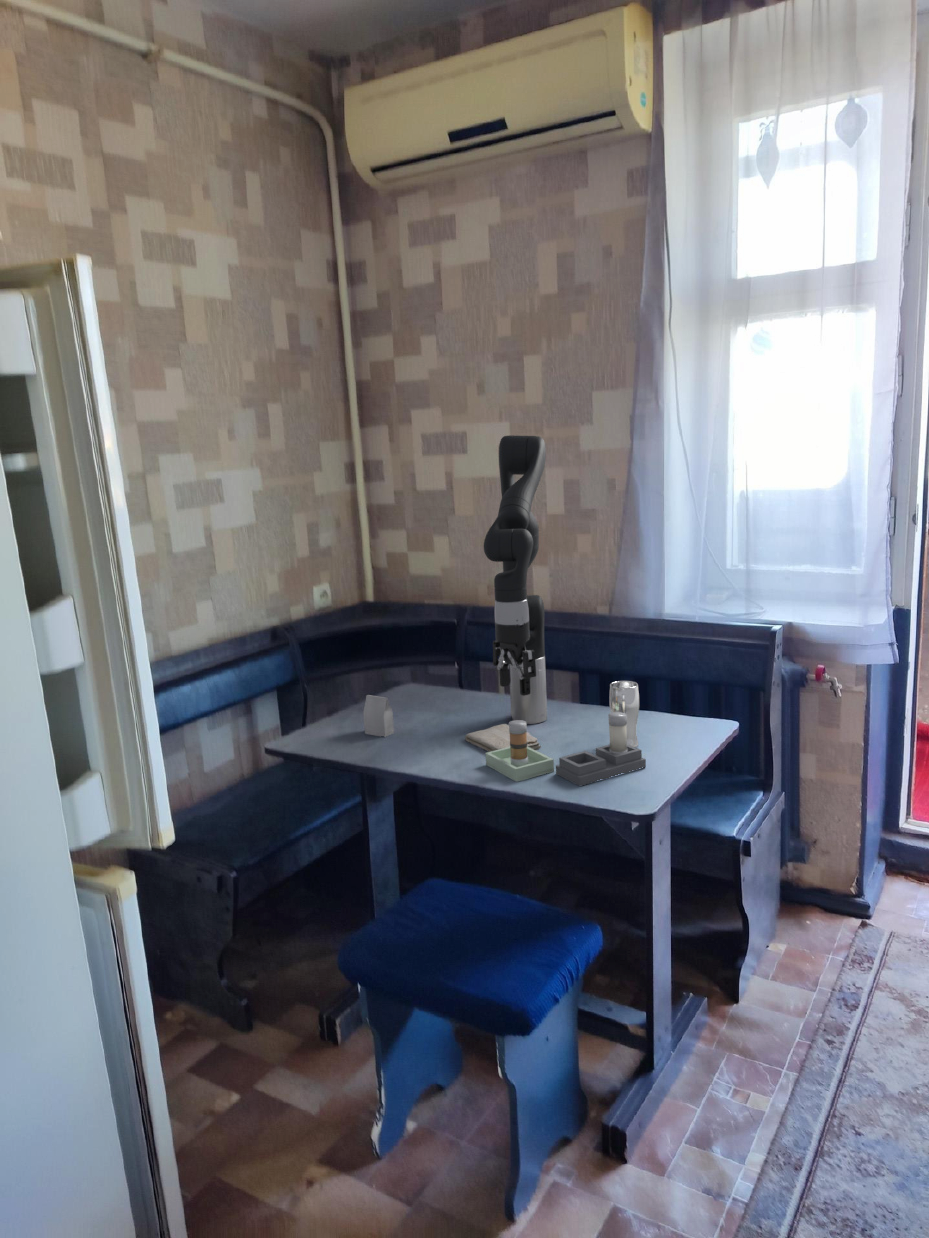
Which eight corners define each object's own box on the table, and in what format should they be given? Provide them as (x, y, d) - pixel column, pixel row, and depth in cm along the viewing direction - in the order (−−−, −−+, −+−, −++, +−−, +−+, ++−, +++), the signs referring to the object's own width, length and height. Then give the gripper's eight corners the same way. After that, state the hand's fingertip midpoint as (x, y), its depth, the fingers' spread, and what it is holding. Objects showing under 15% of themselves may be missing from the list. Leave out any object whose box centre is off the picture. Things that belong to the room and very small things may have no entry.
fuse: (605, 756, 204) (604, 714, 202) (619, 753, 206) (619, 711, 204) (617, 761, 201) (616, 718, 199) (631, 757, 203) (630, 715, 201)
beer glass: (618, 751, 213) (616, 690, 210) (605, 742, 220) (604, 682, 217) (645, 747, 215) (644, 686, 212) (632, 738, 221) (630, 679, 218)
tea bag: (385, 737, 233) (382, 699, 231) (365, 733, 237) (362, 696, 235) (394, 732, 236) (391, 696, 234) (374, 729, 240) (371, 693, 238)
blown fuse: (507, 764, 207) (505, 722, 205) (522, 760, 208) (520, 718, 206) (516, 769, 203) (514, 726, 201) (531, 765, 205) (529, 723, 203)
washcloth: (504, 761, 212) (503, 749, 211) (462, 742, 227) (462, 730, 226) (544, 749, 218) (543, 737, 218) (501, 732, 233) (501, 720, 233)
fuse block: (556, 773, 201) (555, 756, 200) (620, 756, 210) (619, 739, 209) (580, 786, 193) (579, 768, 193) (645, 767, 202) (645, 750, 201)
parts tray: (486, 764, 209) (485, 752, 209) (522, 755, 214) (522, 743, 213) (516, 781, 198) (515, 769, 197) (554, 771, 203) (553, 759, 202)
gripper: (480, 616, 203) (484, 686, 207) (514, 627, 191) (517, 701, 195) (509, 612, 207) (512, 680, 210) (544, 622, 194) (546, 694, 198)
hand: (515, 690), depth 202 cm, fingers open, 8 cm apart
